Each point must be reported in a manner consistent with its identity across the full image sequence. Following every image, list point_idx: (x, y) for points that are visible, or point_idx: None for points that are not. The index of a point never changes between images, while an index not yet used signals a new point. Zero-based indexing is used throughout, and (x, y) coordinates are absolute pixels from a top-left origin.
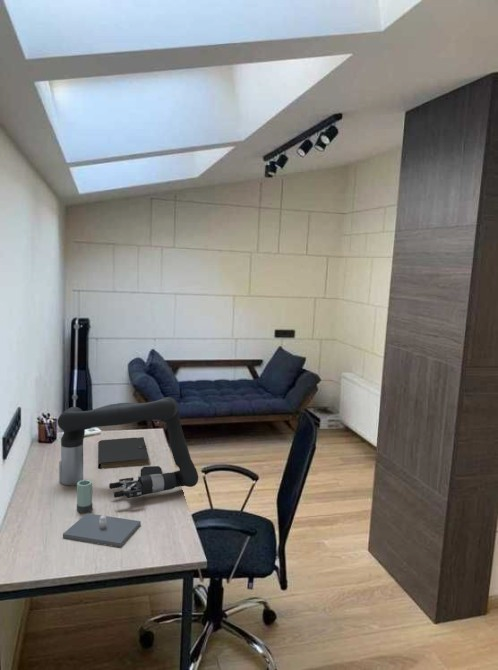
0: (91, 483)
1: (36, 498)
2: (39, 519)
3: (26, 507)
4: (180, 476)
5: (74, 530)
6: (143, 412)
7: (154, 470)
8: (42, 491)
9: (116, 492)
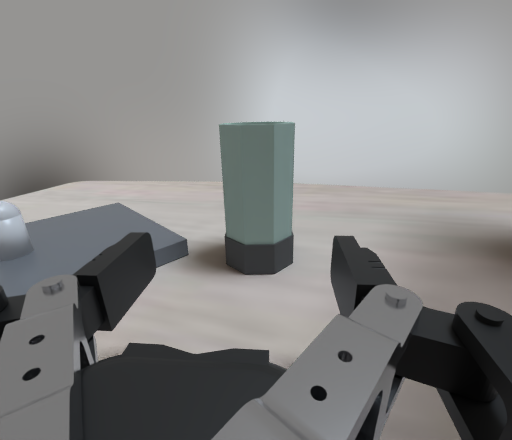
0: (236, 128)
1: (397, 202)
2: None
3: (339, 193)
4: None
5: (105, 213)
6: None
7: None
8: (456, 209)
9: (125, 240)
